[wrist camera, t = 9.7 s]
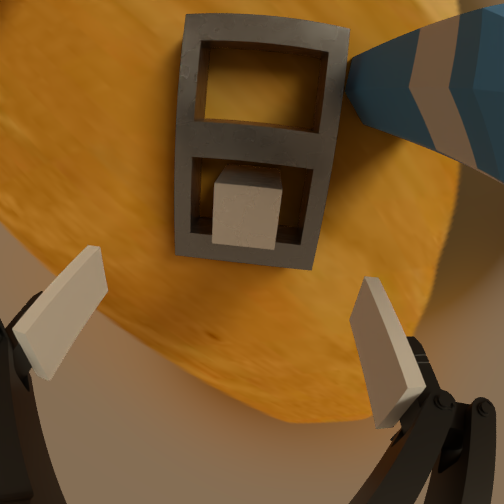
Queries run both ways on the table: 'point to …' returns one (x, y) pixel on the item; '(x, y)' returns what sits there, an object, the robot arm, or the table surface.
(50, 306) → the robot arm
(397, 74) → the water bottle
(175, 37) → the table surface
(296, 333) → the table surface
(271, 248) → the brushed gray brick
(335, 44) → the grey compartment tray
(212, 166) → the table surface
